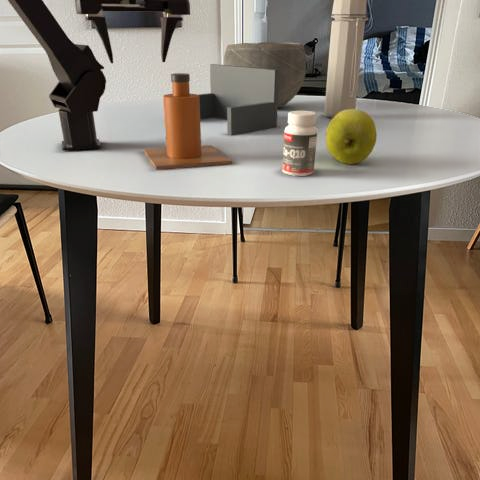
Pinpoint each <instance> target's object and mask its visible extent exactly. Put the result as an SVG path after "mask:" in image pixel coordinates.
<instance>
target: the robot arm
mask: <svg viewBox="0 0 480 480" xmlns="http://www.w3.org/2000/svg"><path fill="white" fill-rule="evenodd" d="M7 1H8V3H9V4H10V6H11V7H12V8H13V10H14V11H15V12H16V13H17V15H18V16H19V18H20V19H21V21H22V22H23V23H24V24H25V26H26V27H27V28H28V30H29V31H30V33H31V34H32V35H33V37H34V39H36V40H37V42H38V43H39V45H40V46H41V48H42V49H43V51H44V52H45V53H46V55H47V58H48V60H49V64H50V66H51V69H52V71H53V73H54V75H55V77H56V79H57V81H58V82H57V83H56V85H55V86H54V88H53V89H52V91H51V92H50V93H49V94H48V98H49V99H50V102H51V104H52V106H53V107H54V108H55V109H58V116H59V121H60V127H61V133H62V139H63V140H61V148H62V149H61V150H62V151H77V150H94V149H101V148H102V144H101V142H100V138H98V137H97V130H96V124H95V116H94V112H98V111H99V107H100V100H101V97H102V96H103V95H104V94H105V90H106V86H107V85H106V84H107V78H106V76H105V74H104V72H103V70H104V69H105V66H103V65H102V64H101V63H100V62H99V61H98V60H97V58H96V56H95V55H94V52H93V50H92V49H91V47H90V46H89V44H79V43H78V44H77V43H74V42H73V41H72V40H71V38H69V37H68V35H67V34H66V32H65V31H64V29H63V27H61V25H60V23H59V22H58V21H57V19H56V18H55V16H54V15H53V13H52V12H51V10H50V9H49V8H48V6H47V4H46V3H45V2H44V0H7ZM142 3H144V4H142ZM74 6H75V13H76V15H85V17H84V19H85V21H90V22H91V23H92V25H93V26H94V29H95V30H96V32H97V34H98V36H99V38H100V40H101V43H102V46H103V47H104V50H105V52H106V55H107V58H108V60H109V62H110V64H114V54H113V49H112V44H111V40H110V35H109V31H108V24H107V21H106V17H105V16H103V13H104V12H135V13H136V12H141V13H142V12H143V13H147V12H148V13H149V12H151V13H157V12H158V13H162V15H163V17H160V26H161V36H160V37H161V41H160V56H161V62H162V63H166V60H167V57H168V52H169V50H170V49H169V48H170V44H171V41H172V38H173V35H174V32H175V30H176V27H177V24H178V22H183V21H184V17H182V16H190V15H191V3H190V0H74Z"/></svg>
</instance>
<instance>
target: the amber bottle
mask: <svg viewBox="0 0 480 480" xmlns="http://www.w3.org/2000/svg"><path fill="white" fill-rule="evenodd" d="M190 78H191V77H190V73H186V72H179V73H177V72H176V73H175V72H174V73H171V74H170V81H171V87H172V93H168V94H167V93H166V94H163V96H162V98H163V99H162V102H163V115H164V127H165V128H164V129H165V142H166V148H167V156H168V157H170V158H174V159H192V158H197V157H200V156H201V146H202V132H201V131H202V130H201V119H200V99H199V95H198V94H197V93H190V81H191V79H190Z"/></svg>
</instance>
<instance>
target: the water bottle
mask: <svg viewBox="0 0 480 480" xmlns="http://www.w3.org/2000/svg"><path fill="white" fill-rule="evenodd" d="M330 17H331V18H332V19H334V20H332V21H331V28H330V40H329V49H328V50H329V51H328V63H327V75H326V86H325V87H326V88H325V98H324V110H323V111H324V112H323V113H324V114H325V116H326V117H327V118H330V119H333V118H334V117H335V116H336V115H337V114H338V113H339V112H341V111H343V110H347V109H356V106H357V98H358V97H357V96H358V89H359V80H360V71H361V63H362V54H363V44H364V36H365V35H364V34H365V27H366V21H368V20H369V17H367V0H333V4H332V10H331V15H330Z"/></svg>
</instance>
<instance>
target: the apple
mask: <svg viewBox="0 0 480 480" xmlns="http://www.w3.org/2000/svg"><path fill="white" fill-rule="evenodd" d="M377 135H378V134H377V127H376V124H375V122H374V119H373V118H372V116H371V115H369V113H367V112H365V111H364V110H360V109H356V108H355V109H347V110H343V111H341V112H339V113H338V114H337V115H336V116H335V117H334V118H331V120H330V121H329V123H328V125H327V128H326V131H325V145H326V149H327V151H328V152H329V153H328V154H330V155H331V156H332V157H333V158H334V159H335V160H337V161H338V162H340V163H342V164H346V165H355V164H358V163H360V162H362V161H363V160H365V159H367V158H368V157H369V156H370V155H371V153H372V151H373V150H374V148H375V146H376V143H377V138H378V136H377Z"/></svg>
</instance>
